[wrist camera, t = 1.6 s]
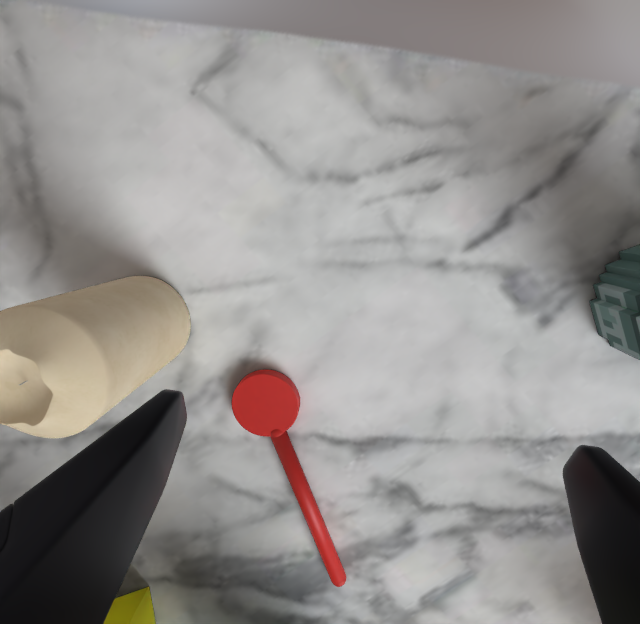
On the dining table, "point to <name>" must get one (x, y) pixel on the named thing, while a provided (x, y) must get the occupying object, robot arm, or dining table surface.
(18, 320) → the candle
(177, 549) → the dining table surface
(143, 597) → the decorative book
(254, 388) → the spoon
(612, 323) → the can
